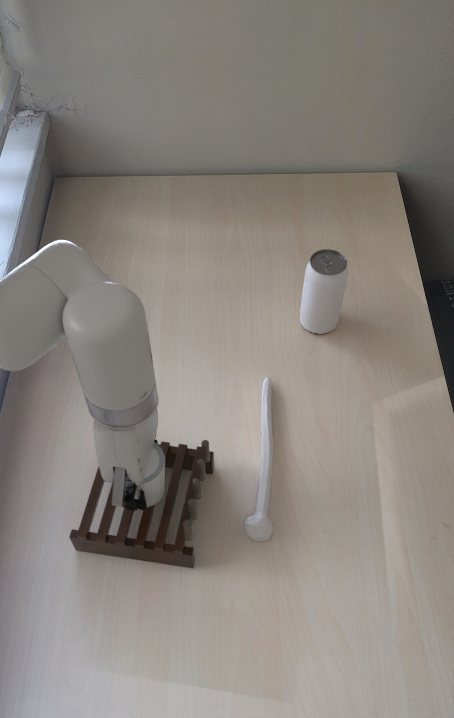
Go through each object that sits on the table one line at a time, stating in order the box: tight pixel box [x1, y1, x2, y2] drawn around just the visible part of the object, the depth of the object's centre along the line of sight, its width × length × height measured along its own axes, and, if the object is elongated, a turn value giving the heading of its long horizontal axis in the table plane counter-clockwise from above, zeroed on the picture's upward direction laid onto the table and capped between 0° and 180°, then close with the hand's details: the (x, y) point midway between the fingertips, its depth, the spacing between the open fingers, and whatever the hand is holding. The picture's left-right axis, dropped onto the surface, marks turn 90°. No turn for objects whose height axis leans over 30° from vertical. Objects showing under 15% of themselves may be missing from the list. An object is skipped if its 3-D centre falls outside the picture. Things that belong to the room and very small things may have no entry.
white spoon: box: [242, 376, 274, 542], centre depth 91 cm, size 28×4×3 cm, turn 178°
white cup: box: [126, 442, 166, 508], centre depth 81 cm, size 7×7×7 cm
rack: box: [68, 439, 215, 569], centre depth 85 cm, size 16×16×9 cm
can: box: [298, 248, 349, 335], centre depth 100 cm, size 6×6×12 cm
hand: (141, 480), depth 82 cm, fingers closed on white cup, 6 cm apart
